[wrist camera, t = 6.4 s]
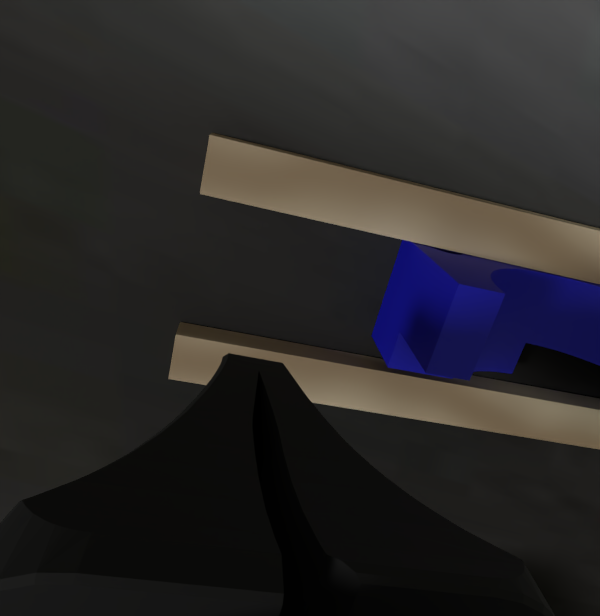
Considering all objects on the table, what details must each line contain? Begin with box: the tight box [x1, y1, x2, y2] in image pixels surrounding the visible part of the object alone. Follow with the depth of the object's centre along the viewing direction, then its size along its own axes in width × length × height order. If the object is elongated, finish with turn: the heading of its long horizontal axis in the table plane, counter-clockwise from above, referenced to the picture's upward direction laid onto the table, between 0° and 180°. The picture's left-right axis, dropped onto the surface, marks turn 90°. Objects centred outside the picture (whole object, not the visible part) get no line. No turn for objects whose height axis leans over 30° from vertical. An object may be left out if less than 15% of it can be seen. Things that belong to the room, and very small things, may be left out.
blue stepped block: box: [372, 240, 600, 381], centre depth 19 cm, size 12×4×6 cm, turn 76°
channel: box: [168, 133, 600, 449], centre depth 20 cm, size 10×21×4 cm, turn 76°
